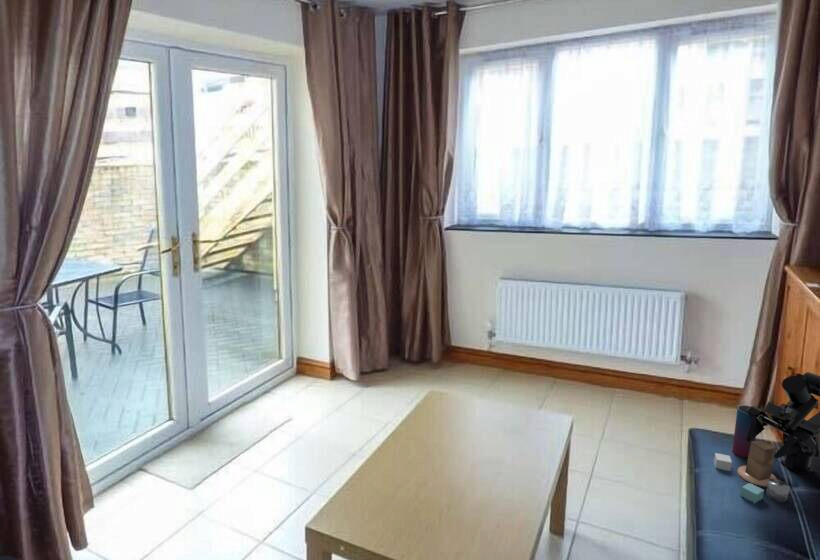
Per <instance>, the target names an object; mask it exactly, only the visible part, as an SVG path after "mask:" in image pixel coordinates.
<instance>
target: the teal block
mask: <svg viewBox="0 0 820 560" xmlns="http://www.w3.org/2000/svg"><path fill="white" fill-rule="evenodd" d="M764 493H765V489H763V488H761V487H760V486H758V485H754V484H752V483H749V482H748V483H746V484H745V485H743V486H741V489H740V494H739V497H741V496H742V497H741V498H743V497H744V498H743V499H745V498H746V499H745V500H747V499H748V500H747V501H749V500H750V501H749V502H751V501H753V502H754V503H753V502H752V503H753V504H755V503H756V502H757V501H759V500H760V501H762V500H763V498H764ZM761 499H762V500H761ZM760 501H759V502H760ZM757 503H758V502H757ZM757 503H756V504H757Z"/></svg>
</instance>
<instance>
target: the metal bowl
mask: <svg viewBox="0 0 820 560" xmlns="http://www.w3.org/2000/svg"><path fill="white" fill-rule="evenodd" d="M790 489H791V486H790V484H788V483H787V482H786V481H783V480H782V479H780V478H777V479H769V482H768V486H767V487H766V491H765V494H766V496H767V498H769V497H770V498H771V500H772V499H773V500H772V501H774V500H775V502H778V503H785V502H787V501H788V498H789V494H790ZM770 498H769V499H770Z"/></svg>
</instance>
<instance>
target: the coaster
mask: <svg viewBox="0 0 820 560" xmlns="http://www.w3.org/2000/svg"><path fill="white" fill-rule="evenodd" d="M745 470H746V465H741V466H739V467H738V468H737V474H738V475H740V476H741V477H742V478H741V477H740V476H739V477H740V478H741V479H743V480H744V481H746V482H747V481H748V483H749V482H750V483H751V484H753V485H754V484H755V486H758V485H759V486H758V487H762V486H763V487H764V488H767V486H768V482H769V479H765V480H760V481H758V480H757V479H755V478H753V477H752V476H750V475H749V474H747V473H746V472H745ZM770 479H778V478H777V477H776V475H774V474H773V473H771V477H770ZM763 487H762V488H763Z"/></svg>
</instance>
